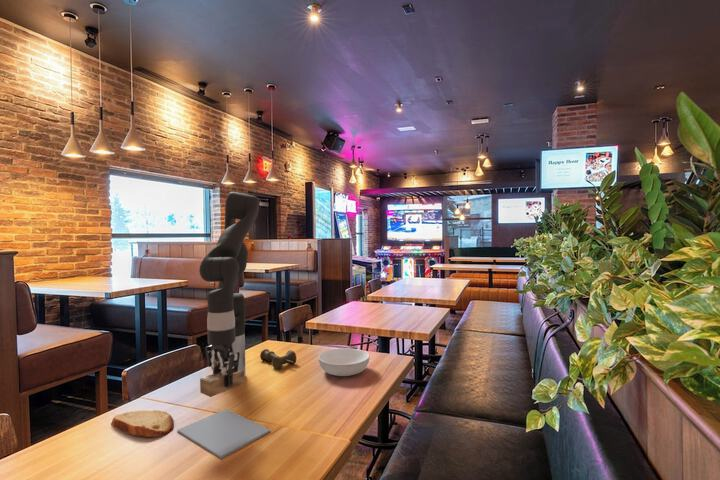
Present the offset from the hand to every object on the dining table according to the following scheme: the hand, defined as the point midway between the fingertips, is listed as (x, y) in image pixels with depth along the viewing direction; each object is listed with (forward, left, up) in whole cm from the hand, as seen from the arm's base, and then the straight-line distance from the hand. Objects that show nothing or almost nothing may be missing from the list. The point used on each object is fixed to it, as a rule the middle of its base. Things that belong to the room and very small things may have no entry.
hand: (222, 384), depth 112 cm
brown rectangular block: (0, 0, -1) cm, 1 cm away
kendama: (-30, +46, -14) cm, 57 cm away
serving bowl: (-1, +56, -14) cm, 58 cm away
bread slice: (-23, -13, -15) cm, 30 cm away
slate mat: (0, 0, -14) cm, 14 cm away
